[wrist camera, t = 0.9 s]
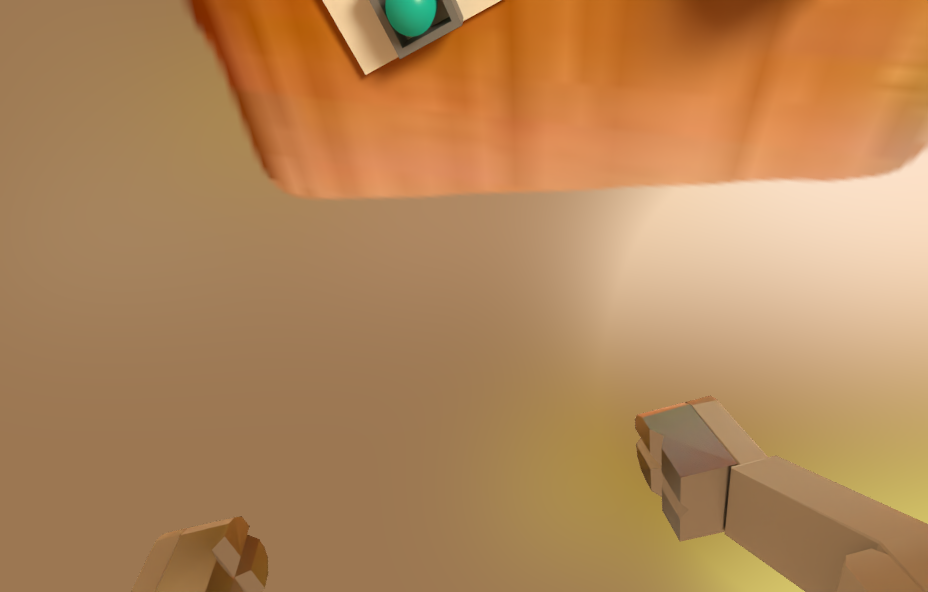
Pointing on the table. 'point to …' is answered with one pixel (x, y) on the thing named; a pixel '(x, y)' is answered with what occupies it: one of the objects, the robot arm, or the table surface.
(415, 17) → the button
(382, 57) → the colouring board
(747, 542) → the robot arm
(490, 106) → the table surface
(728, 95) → the table surface
